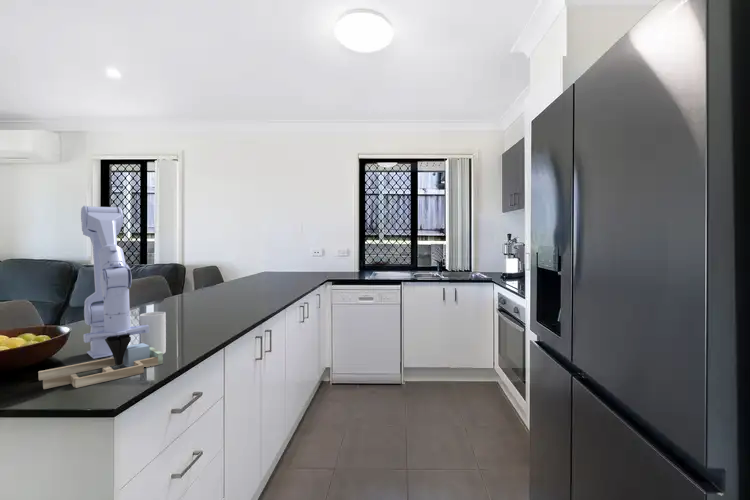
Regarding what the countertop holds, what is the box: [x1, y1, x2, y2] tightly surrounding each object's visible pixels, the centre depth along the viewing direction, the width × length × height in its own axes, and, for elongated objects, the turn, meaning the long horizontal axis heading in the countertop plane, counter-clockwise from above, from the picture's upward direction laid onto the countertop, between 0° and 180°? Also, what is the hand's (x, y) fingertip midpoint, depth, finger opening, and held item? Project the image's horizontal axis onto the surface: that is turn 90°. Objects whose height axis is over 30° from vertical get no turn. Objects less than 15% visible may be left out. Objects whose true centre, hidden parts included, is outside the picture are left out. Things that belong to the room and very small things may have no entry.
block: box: [122, 343, 150, 368], centre depth 109 cm, size 5×5×5 cm
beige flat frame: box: [37, 347, 164, 390], centre depth 102 cm, size 14×25×3 cm, turn 135°
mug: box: [139, 311, 167, 355], centre depth 121 cm, size 10×7×12 cm, turn 20°
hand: (118, 364), depth 106 cm, fingers closed
